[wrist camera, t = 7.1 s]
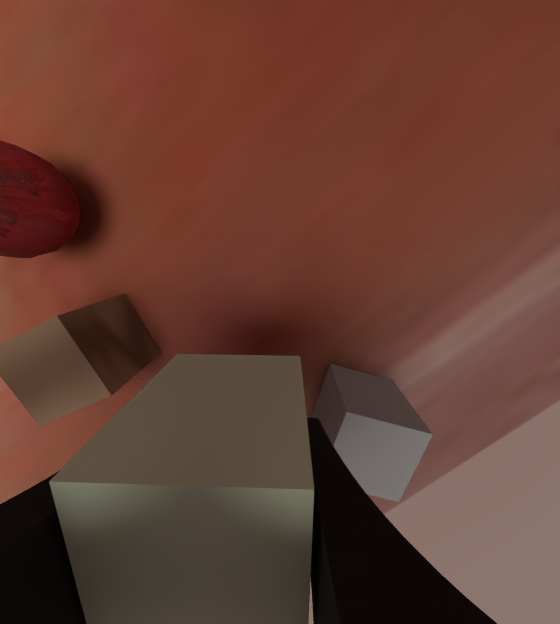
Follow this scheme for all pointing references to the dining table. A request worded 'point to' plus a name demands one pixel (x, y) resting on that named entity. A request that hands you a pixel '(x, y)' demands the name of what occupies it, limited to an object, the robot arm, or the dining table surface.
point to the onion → (33, 205)
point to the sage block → (196, 498)
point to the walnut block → (76, 358)
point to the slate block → (372, 429)
